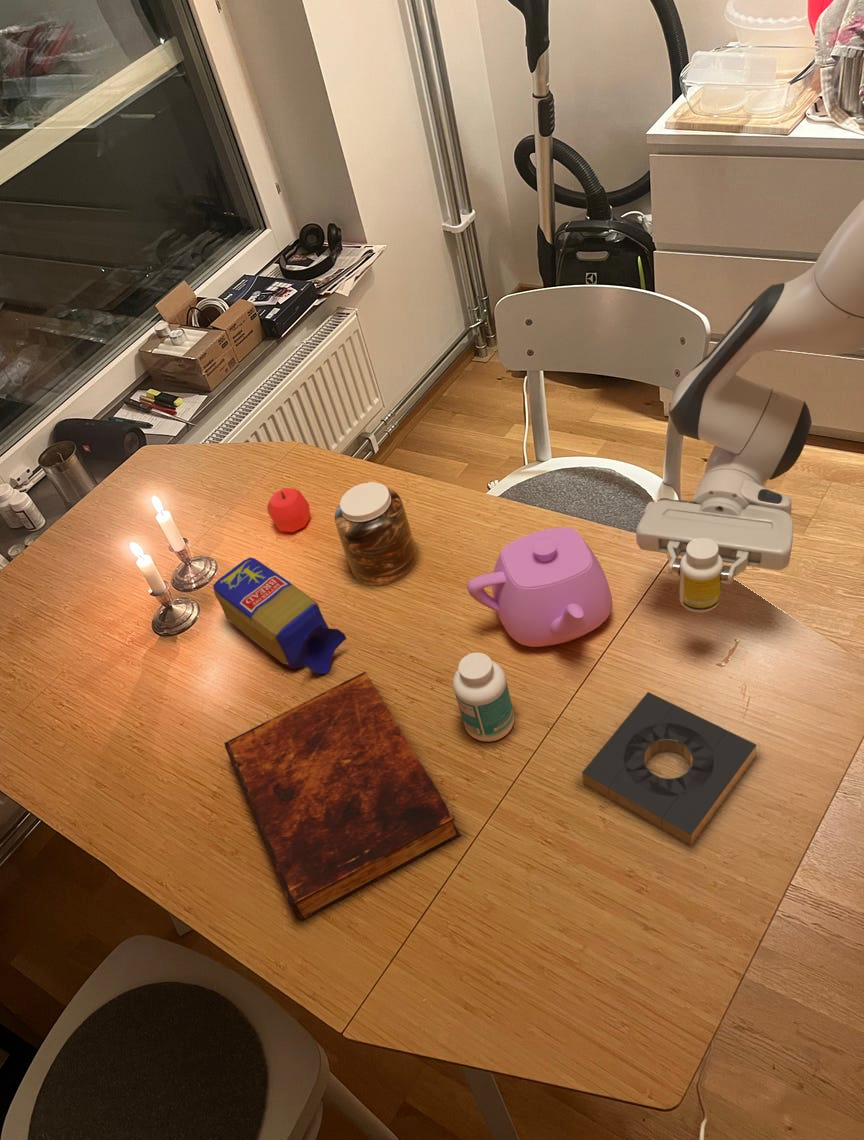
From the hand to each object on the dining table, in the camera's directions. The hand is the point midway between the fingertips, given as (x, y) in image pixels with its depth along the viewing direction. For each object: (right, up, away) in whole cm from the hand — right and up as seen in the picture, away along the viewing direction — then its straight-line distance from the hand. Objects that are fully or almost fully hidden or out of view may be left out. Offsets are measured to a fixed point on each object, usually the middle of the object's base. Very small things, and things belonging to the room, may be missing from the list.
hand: (699, 576), depth 121 cm
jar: (-42, +5, +40) cm, 58 cm away
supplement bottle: (+2, -3, +5) cm, 6 cm away
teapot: (-15, -5, +23) cm, 28 cm away
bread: (-58, -8, +34) cm, 68 cm away
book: (-48, -31, +10) cm, 58 cm away
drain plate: (-4, -26, +1) cm, 26 cm away
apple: (-59, +14, +53) cm, 80 cm away
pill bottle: (-26, -21, +13) cm, 36 cm away
